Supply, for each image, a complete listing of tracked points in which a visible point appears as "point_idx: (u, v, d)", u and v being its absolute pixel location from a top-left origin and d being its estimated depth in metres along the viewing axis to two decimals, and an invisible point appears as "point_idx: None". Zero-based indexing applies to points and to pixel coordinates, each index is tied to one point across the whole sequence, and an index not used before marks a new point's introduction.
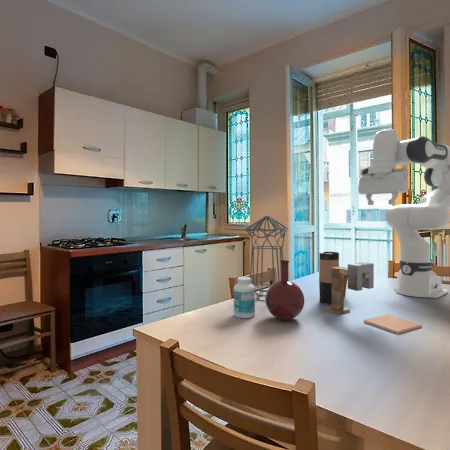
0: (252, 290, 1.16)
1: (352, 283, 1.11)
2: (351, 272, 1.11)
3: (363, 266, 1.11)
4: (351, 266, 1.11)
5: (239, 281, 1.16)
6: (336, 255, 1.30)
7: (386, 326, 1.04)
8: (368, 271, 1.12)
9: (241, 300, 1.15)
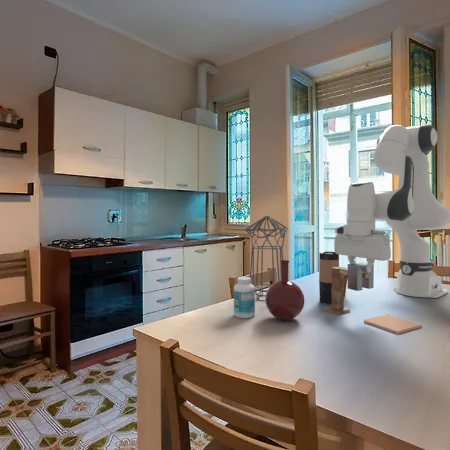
0: (252, 290, 1.16)
1: (352, 283, 1.11)
2: (351, 272, 1.11)
3: (363, 266, 1.11)
4: (351, 266, 1.11)
5: (239, 281, 1.16)
6: (336, 255, 1.30)
7: (386, 326, 1.04)
8: None
9: (241, 300, 1.15)
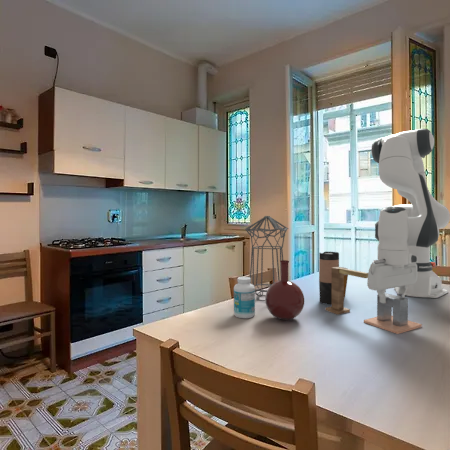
0: (252, 290, 1.16)
1: None
2: None
3: None
4: None
5: (239, 281, 1.16)
6: (336, 255, 1.30)
7: (386, 326, 1.04)
8: (392, 305, 1.05)
9: (241, 300, 1.15)
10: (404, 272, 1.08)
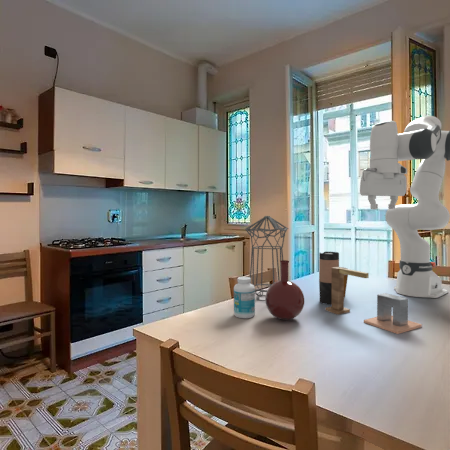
0: (252, 290, 1.16)
1: None
2: None
3: (385, 298, 1.07)
4: None
5: (239, 281, 1.16)
6: (336, 255, 1.30)
7: (386, 326, 1.04)
8: (392, 305, 1.05)
9: (241, 300, 1.15)
10: (394, 183, 1.16)
